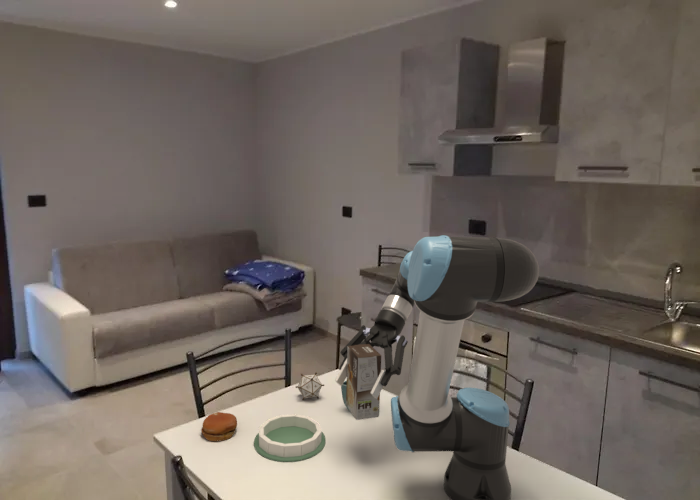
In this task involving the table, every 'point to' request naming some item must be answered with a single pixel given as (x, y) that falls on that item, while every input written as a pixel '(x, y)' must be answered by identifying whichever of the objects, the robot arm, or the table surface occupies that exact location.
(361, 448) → the table surface
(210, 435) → the burger
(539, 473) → the table surface
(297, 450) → the round green tray
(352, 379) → the coffee box
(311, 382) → the game die
